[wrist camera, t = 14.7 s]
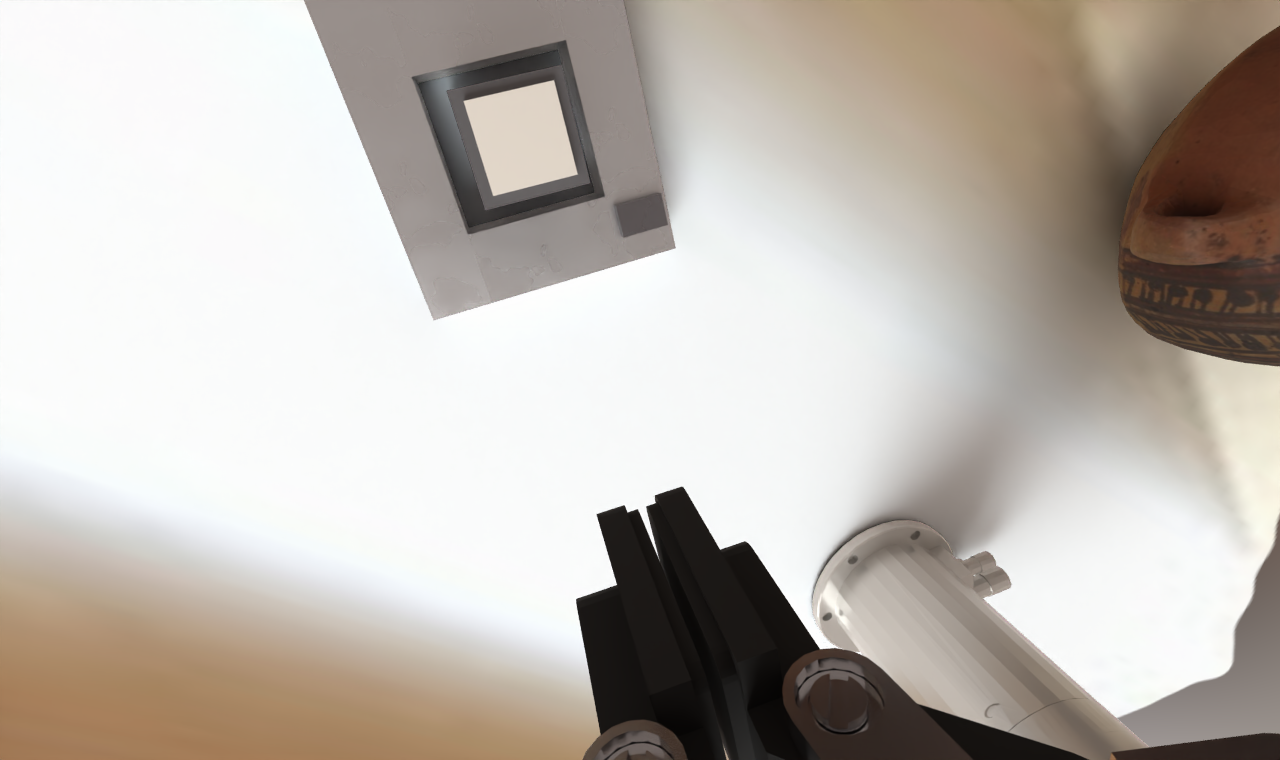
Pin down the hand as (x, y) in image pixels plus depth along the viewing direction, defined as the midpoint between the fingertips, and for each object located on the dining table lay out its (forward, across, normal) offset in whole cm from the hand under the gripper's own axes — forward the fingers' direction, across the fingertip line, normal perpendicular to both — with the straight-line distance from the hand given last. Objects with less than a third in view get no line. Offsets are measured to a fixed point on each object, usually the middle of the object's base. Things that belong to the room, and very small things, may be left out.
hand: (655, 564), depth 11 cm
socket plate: (+24, 0, -8) cm, 26 cm away
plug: (+24, 0, -8) cm, 26 cm away
